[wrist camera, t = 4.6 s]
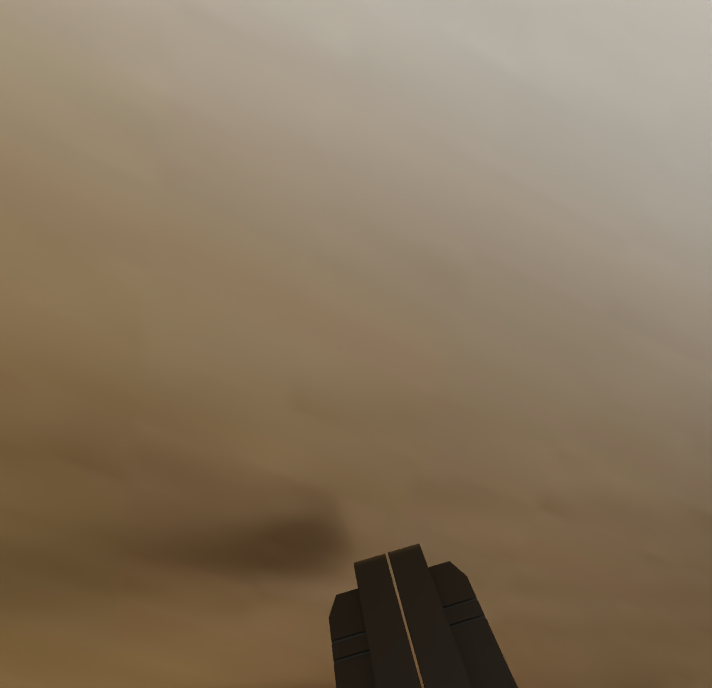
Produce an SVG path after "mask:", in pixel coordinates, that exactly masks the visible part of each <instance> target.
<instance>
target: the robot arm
mask: <svg viewBox="0 0 712 688" xmlns="http://www.w3.org/2000/svg"><path fill="white" fill-rule="evenodd" d="M388 555H389V559H390V563H391V566H392V570H393V574H394V577H395V581H396V585H397V589H398V592H399V596H400V600H401V603H402V607H403V611H404V614H405V618H406V622H407V625H408V629H409V633H410V636H411V640H412V644H413V647H414V651H415V654H416V658H417V662H418V665H419V669H420V673H421V676H422V680H423V683H424V687H425V688H518V687H517V685H516V683H515V681H514V679H513V677H512V674H511V672H510V670H509V668H508V666H507V663H506V661H505V659H504V657H503V655H502V652H501V650H500V648H499V646H498V644H497V641H496V639H495V637H494V635H493V633H492V630H491V628H490V626H489V624H488V622H487V619H486V618H485V616H484V613H483V611H482V609H481V606H480V604H479V602H478V601H477V598H476V595H475V593H474V591H473V589H472V587H471V584H470V582H469V580H468V578H467V576H466V575H465V574H464V573H462V572H461V571H460V570H459V569H458V568H457V567H456V566H454V565H453V564H452V563H451V562H450V561H449V562H445V563H442V564H439V565H435V566H432V567H429V568H428V566H427V563H426V561H425V558H424V555H423V552H422V550H421V547H420V545H419V544H416V545H412V546H409V547H406V548H402V549H399V550H395V551H392V552H388ZM354 568H355V574H356V579H357V584H358V589H355V590H351V591H348V592H345V593H341V594H338V595H336V597H335V600H334V604H333V607H332V610H331V613H330V616H329V623H330V632H331V641H332V651H333V660H334V670H335V679H336V688H421V684H420V681H419V677H418V673H417V670H416V666H415V662H414V659H413V655H412V651H411V647H410V644H409V640H408V636H407V633H406V629H405V625H404V622H403V618H402V614H401V610H400V607H399V603H398V599H397V596H396V592H395V588H394V585H393V581H392V577H391V574H390V570H389V566H388V563H387V559H386V555H385V554H382V555H379V556H375V557H372V558H369V559H365V560H362V561H358V562H355V563H354Z"/></svg>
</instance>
